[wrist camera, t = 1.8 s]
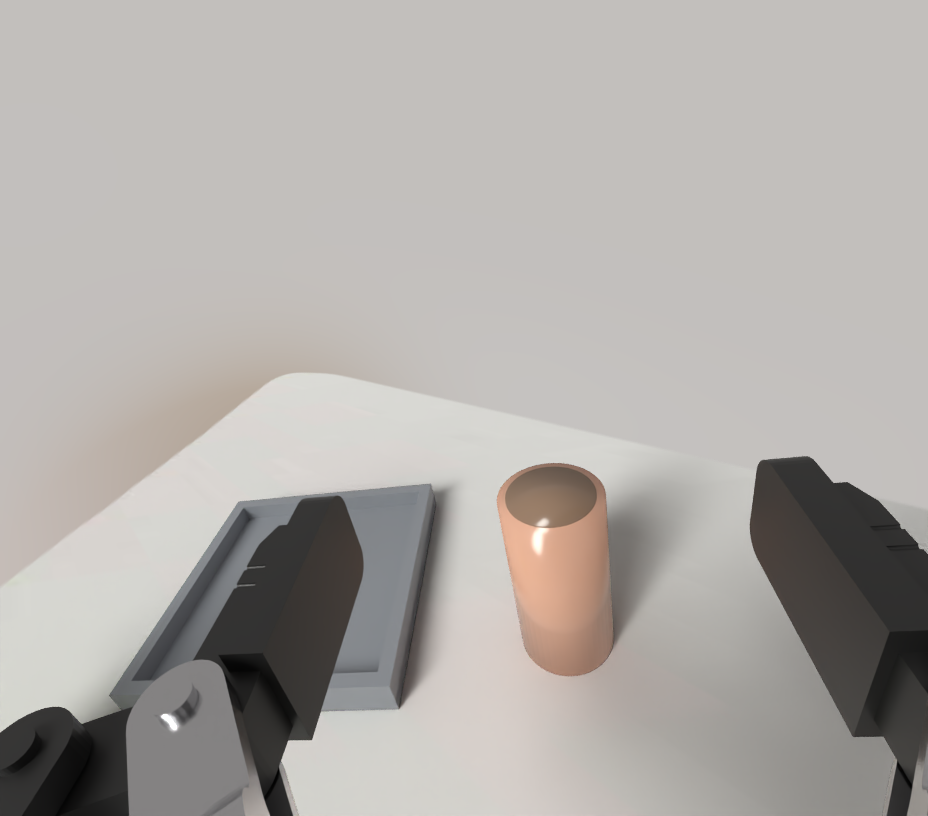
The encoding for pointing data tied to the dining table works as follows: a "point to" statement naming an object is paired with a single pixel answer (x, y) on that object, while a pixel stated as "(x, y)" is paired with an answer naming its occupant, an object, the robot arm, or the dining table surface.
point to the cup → (559, 565)
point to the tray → (373, 616)
